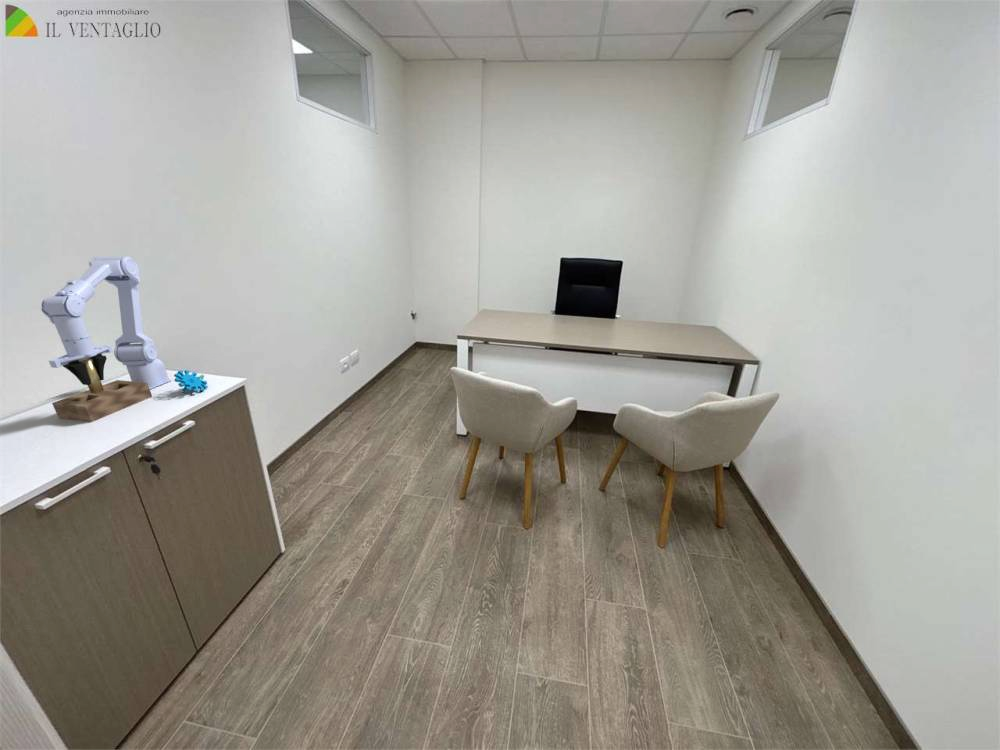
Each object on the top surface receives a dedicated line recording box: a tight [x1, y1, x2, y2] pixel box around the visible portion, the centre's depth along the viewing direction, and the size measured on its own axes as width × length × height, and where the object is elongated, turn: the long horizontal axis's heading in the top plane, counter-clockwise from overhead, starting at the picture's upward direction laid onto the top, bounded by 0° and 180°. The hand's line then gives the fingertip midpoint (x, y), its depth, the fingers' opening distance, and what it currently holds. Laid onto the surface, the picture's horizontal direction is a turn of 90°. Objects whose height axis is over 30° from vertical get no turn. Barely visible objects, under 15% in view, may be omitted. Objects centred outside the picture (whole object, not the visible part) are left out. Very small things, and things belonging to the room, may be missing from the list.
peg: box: [79, 358, 104, 393], centre depth 117 cm, size 3×3×10 cm
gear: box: [173, 369, 209, 394], centre depth 136 cm, size 11×6×10 cm
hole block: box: [51, 379, 153, 423], centre depth 124 cm, size 18×12×5 cm, turn 170°
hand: (93, 382), depth 118 cm, fingers closed on peg, 3 cm apart
